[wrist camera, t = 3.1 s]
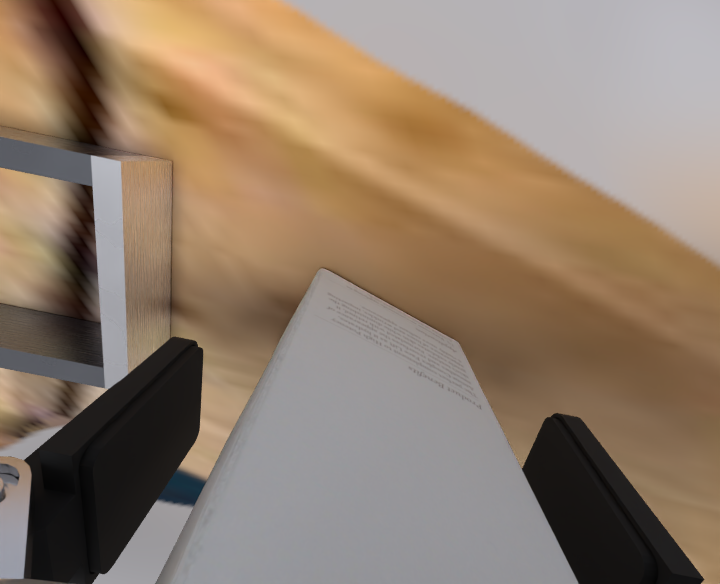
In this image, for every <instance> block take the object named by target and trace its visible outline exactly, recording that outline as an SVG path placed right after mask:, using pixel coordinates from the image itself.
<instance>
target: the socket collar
mask: <svg viewBox="0 0 720 584" xmlns="http://www.w3.org/2000/svg"><path fill="white" fill-rule="evenodd" d="M0 167H1V168H6V169H11V170H16V171H21V172H25V173H30V174H35V175H40V176H45V177H50V178H55V179H60V180H65V181H69V182H74V183H79V184H84V185H89V186H93V200H94V216H95V232H96V249H97V265H98V281H99V298H100V314H101V324H100V323H95V322H90V321H85V320H80V319H75V318H70V317H65V316H60V315H55V314H50V313H45V312H40V311H35V310H30V309H25V308H20V307H15V306H10V305H5V304H0V368H5V369H10V370H15V371H21V372H26V373H31V374H36V375H41V376H46V377H51V378H56V379H61V380H66V381H71V382H76V383H81V384H86V385H91V386H96V387H101V388H106V389H109V388H111V387H112V386H113V385H114V384H116V383H117V382H119V381H120V380H122V379H123V378H124V377H125V376H126V375H128V374H129V373H130V372H131V371H132V370H134V369H135V368H136V367H137V366H138V365H139V364H141V363H142V362H143V361H144V360H145V359H147V358H148V357H149V356H150V355H151V354H152V353H154V352H155V351H156V350H157V349H158V348H160V347H161V346H162V345H163V344H164V343H166V342H167V341H168V340H169V339H170V300H171V218H172V161H169V160H164V159H160V158H155V157H150V156H145V155H140V154H135V153H130V152H126V151H121V150H116V149H111V148H106V147H101V146H96V145H91V144H87V143H82V142H77V141H72V140H67V139H62V138H57V137H53V136H48V135H43V134H38V133H33V132H28V131H23V130H19V129H14V128H9V127H4V126H0Z"/></svg>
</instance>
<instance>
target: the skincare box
mask: <svg viewBox="0 0 720 584" xmlns="http://www.w3.org/2000/svg"><path fill="white" fill-rule="evenodd" d="M155 584H579V583H578V581H577V579H576V577H575V575H574V573H573V571H572V569H571V567H570V565H569V563H568V561H567V559H566V557H565V555H564V553H563V551H562V549H561V547H560V545H559V543H558V541H557V539H556V537H555V535H554V533H553V531H552V529H551V527H550V525H549V523H548V521H547V519H546V517H545V515H544V513H543V511H542V509H541V507H540V505H539V503H538V501H537V499H536V497H535V495H534V493H533V491H532V489H531V487H530V485H529V483H528V481H527V479H526V477H525V475H524V473H523V471H522V469H521V467H520V465H519V463H518V461H517V459H516V457H515V455H514V453H513V451H512V449H511V447H510V445H509V442H508V440H507V438H506V436H505V434H504V432H503V430H502V428H501V426H500V424H499V422H498V420H497V418H496V416H495V414H494V412H493V410H492V408H491V406H490V404H489V402H488V400H487V398H486V397H485V395H484V393H483V391H482V389H481V387H480V385H479V383H478V381H477V378H476V376H475V374H474V372H473V370H472V368H471V366H470V364H469V362H468V360H467V358H466V356H465V354H464V352H463V350H462V348H461V346H460V344H459V343H458V342H457V341H456V340H454V339H452V338H450V337H448V336H446V335H444V334H443V333H441V332H439V331H437V330H435V329H433V328H432V327H430V326H428V325H426V324H424V323H423V322H421V321H419V320H417V319H415V318H414V317H412V316H410V315H408V314H406V313H405V312H403V311H401V310H399V309H397V308H396V307H394V306H392V305H390V304H388V303H386V302H385V301H383V300H381V299H379V298H377V297H375V296H374V295H372V294H370V293H368V292H366V291H364V290H363V289H361V288H359V287H357V286H356V285H354V284H352V283H350V282H348V281H347V280H345V279H343V278H341V277H339V276H338V275H336V274H334V273H332V272H330V271H328V270H326V269H324V268H321V269H319V271H318V272H317V274H316V275H315V277H314V279H313V281H312V283H311V284H310V286H309V288H308V290H307V292H306V293H305V295H304V297H303V299H302V300H301V302H300V304H299V306H298V308H297V309H296V311H295V313H294V315H293V317H292V318H291V320H290V322H289V324H288V326H287V327H286V329H285V331H284V333H283V335H282V337H281V339H280V341H279V343H278V345H277V347H276V349H275V351H274V353H273V356H272V358H271V359H270V361H269V363H268V365H267V367H266V369H265V371H264V373H263V375H262V377H261V378H260V380H259V382H258V384H257V386H256V388H255V390H254V391H253V393H252V395H251V397H250V399H249V401H248V403H247V404H246V406H245V408H244V410H243V412H242V414H241V415H240V417H239V419H238V421H237V423H236V425H235V427H234V428H233V430H232V432H231V434H230V436H229V438H228V439H227V441H226V443H225V445H224V447H223V449H222V451H221V453H220V455H219V457H218V459H217V461H216V463H215V465H214V468H213V470H212V472H211V474H210V476H209V478H208V480H207V482H206V484H205V486H204V488H203V490H202V492H201V494H200V496H199V498H198V500H197V502H196V504H195V506H194V508H193V510H192V512H191V514H190V516H189V518H188V520H187V522H186V524H185V526H184V528H183V530H182V532H181V534H180V536H179V538H178V540H177V542H176V544H175V546H174V548H173V550H172V552H171V554H170V556H169V558H168V560H167V562H166V564H165V566H164V568H163V570H162V572H161V574H160V576H159V577H158V579H157V582H156V583H155Z"/></svg>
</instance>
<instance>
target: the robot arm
mask: <svg viewBox="0 0 720 584" xmlns="http://www.w3.org/2000/svg"><path fill="white" fill-rule="evenodd" d="M202 370H203V349H202V348H200V347H198V344H197V342H196V341H194V340H189V339H184V338H179V337H172V338H170V339H169V340H168V341H167V342H166V343H164V344H163V345H162V346H161V347H160V348H158V349H157V350H156V351H155V352H154V353H152V354H151V355H150V356H149V357H148V358H147V359H145V360H144V361H143V362H142V363H141V364H139V365H138V366H137V367H136V368H135V369H134V370H132V371H131V372H130V373H129V374H128V375H126V376H125V377H124V378H123V379H122V380H120V381H119V382H117V383H116V384H114V385H113V386H112V387H111V388H109V389H108V390H107V391H106V392H105V393H104V394H102V395H101V396H100V397H99V398H98V399H96V400H95V401H94V402H93V403H92V404H90V405H89V406H88V407H87V408H86V409H84V410H83V411H82V412H81V413H80V414H78V415H77V416H76V417H75V418H74V419H73V420H71V421H70V422H69V423H68V424H67V425H65V426H64V427H63V428H62V429H61V430H59V431H58V432H57V433H56V434H55V435H53V436H52V437H51V438H50V439H49V440H47V441H46V442H45V443H44V444H43V445H41V446H40V447H39V448H38V449H37V450H36V451H34V452H33V453H32V454H31V455H30V456H29V457H27V458H26V459H25V460H24V461H23V460H21V459H18V458H14V457H0V584H92V583H93V582H94V580H95V579H96V577H97V576H98V574H99V573H100V574H105V573H107V572H108V571H109V570H110V569H111V568H112V566H113V565H114V563H115V562H116V560H117V559H118V557H119V556H120V554H121V552H122V551H123V550H124V548H125V547H126V545H127V544H128V542H129V541H130V539H131V538H132V536H133V535H134V533H135V531H136V530H137V529H138V527H139V526H140V524H141V523H142V521H143V520H144V518H145V517H146V515H147V514H148V512H149V511H150V509H151V508H152V506H153V505H154V503H155V502H156V500H157V499H158V497H159V496H160V494H161V493H162V491H163V489H164V488H165V486H166V485H167V483H168V482H169V480H170V479H171V477H172V476H173V474H174V473H175V471H176V470H177V468H178V467H179V465H180V464H181V462H182V461H183V459H184V458H185V456H186V455H187V453H188V452H189V450H190V449H191V447H192V446H193V444H194V443H195V441H196V439H197V436H198V433H199V429H200V411H201V390H202ZM522 471H523V473H524V475H525V477H526V479H527V481H528V483H529V485H530V487H531V489H532V491H533V493H534V495H535V497H536V499H537V501H538V503H539V505H540V507H541V509H542V511H543V513H544V515H545V517H546V519H547V521H548V523H549V525H550V527H551V529H552V531H553V533H554V535H555V537H556V539H557V541H558V543H559V545H560V547H561V549H562V551H563V553H564V555H565V557H566V559H567V561H568V563H569V565H570V567H571V569H572V571H573V573H574V575H575V577H576V579H577V581H578V583H579V584H701V583H702V582H703V580H704V578H703V577H702V576H701V575H700V573H699V572H698V571H697V569H696V568H695V567H694V565H693V564H692V563H691V561H690V560H689V559H688V558H687V556H686V555H685V554H684V552H683V551H682V550H681V548H680V547H679V546H678V545H677V543H676V542H675V541H674V539H673V538H672V537H671V535H670V534H669V533H668V532H667V530H666V529H665V528H664V526H663V525H662V524H661V522H660V521H659V520H658V518H657V517H656V516H655V515H654V513H653V512H652V511H651V509H650V508H649V507H648V505H647V504H646V503H645V502H644V500H643V499H642V498H641V496H640V495H639V494H638V492H637V491H636V490H635V489H634V487H633V486H632V485H631V483H630V482H629V481H628V479H627V478H626V477H625V475H624V474H623V473H622V472H621V470H620V469H619V468H618V466H617V465H616V464H615V462H614V461H613V460H612V459H611V457H610V456H609V455H608V453H607V452H606V451H605V449H604V448H603V447H602V445H601V444H600V443H599V442H598V440H597V439H596V438H595V436H594V435H593V434H592V432H591V431H590V430H589V429H588V427H587V426H586V425H585V423H584V422H583V421H582V420H581V419H580V418H578V417H574V416H569V415H564V414H559V413H555V414H553V415H552V416H551V417H548V418H546V419H545V421H544V422H543V424H542V427H541V429H540V431H539V433H538V435H537V438H536V440H535V442H534V444H533V446H532V449H531V451H530V453H529V455H528V457H527V459H526V462H525V464H524V466H523V468H522Z"/></svg>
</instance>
